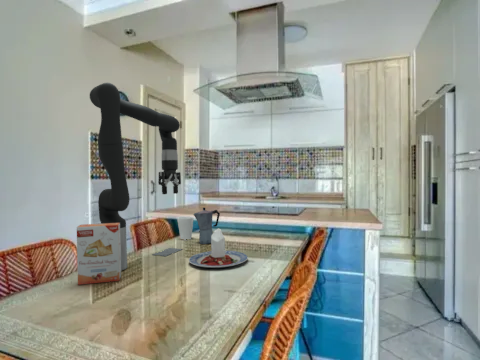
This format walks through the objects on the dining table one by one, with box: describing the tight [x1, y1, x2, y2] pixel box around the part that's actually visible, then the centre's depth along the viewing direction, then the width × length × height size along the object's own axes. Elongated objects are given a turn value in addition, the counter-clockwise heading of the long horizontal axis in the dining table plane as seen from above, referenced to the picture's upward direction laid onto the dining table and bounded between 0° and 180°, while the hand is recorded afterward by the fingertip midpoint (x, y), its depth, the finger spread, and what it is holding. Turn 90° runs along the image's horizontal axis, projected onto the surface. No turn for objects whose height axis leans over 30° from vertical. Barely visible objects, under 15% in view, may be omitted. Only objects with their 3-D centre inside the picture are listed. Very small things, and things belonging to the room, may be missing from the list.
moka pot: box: [192, 207, 221, 245], centre depth 173 cm, size 10×15×20 cm, turn 115°
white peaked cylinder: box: [210, 228, 226, 258], centre depth 133 cm, size 6×12×6 cm
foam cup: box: [177, 216, 194, 241], centre depth 183 cm, size 10×9×13 cm
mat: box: [151, 247, 183, 257], centre depth 152 cm, size 14×8×1 cm, turn 157°
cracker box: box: [76, 223, 122, 286], centre depth 111 cm, size 14×6×21 cm, turn 105°
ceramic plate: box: [188, 250, 249, 269], centre depth 133 cm, size 26×26×3 cm
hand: (170, 193), depth 144 cm, fingers open, 8 cm apart
